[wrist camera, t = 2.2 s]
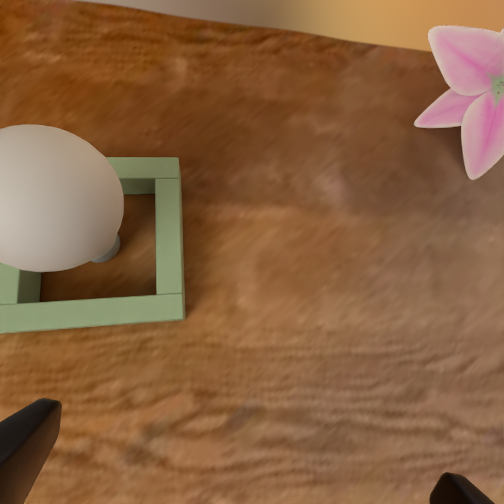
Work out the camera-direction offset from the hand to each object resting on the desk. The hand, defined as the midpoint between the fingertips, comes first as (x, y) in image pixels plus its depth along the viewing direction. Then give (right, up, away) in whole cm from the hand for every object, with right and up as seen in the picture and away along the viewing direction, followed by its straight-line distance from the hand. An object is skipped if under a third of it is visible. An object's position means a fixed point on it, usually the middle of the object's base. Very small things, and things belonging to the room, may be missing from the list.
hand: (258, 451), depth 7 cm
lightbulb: (-10, +5, +14) cm, 18 cm away
